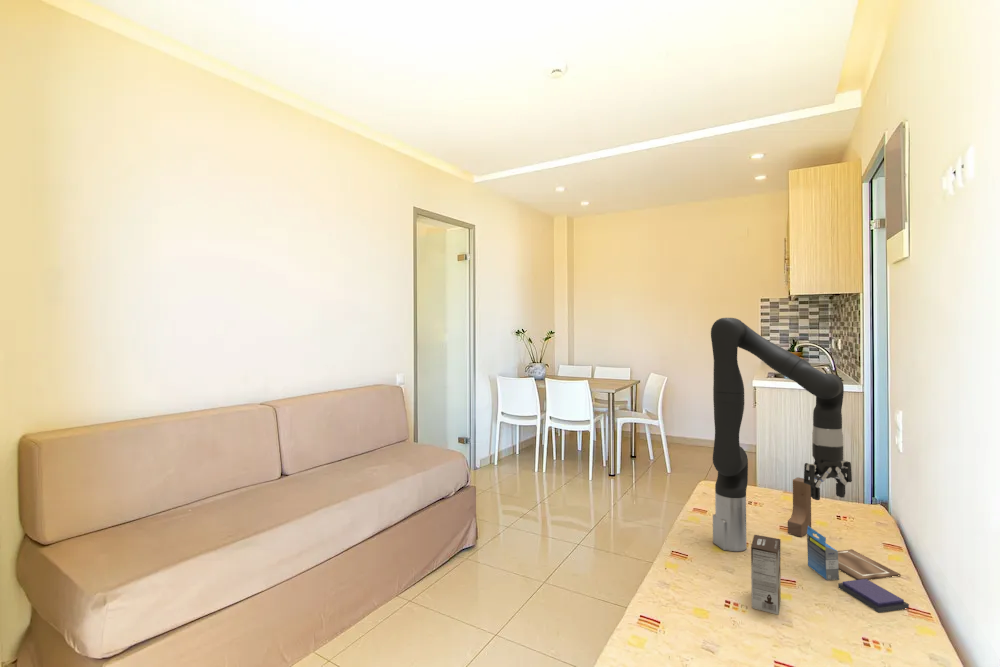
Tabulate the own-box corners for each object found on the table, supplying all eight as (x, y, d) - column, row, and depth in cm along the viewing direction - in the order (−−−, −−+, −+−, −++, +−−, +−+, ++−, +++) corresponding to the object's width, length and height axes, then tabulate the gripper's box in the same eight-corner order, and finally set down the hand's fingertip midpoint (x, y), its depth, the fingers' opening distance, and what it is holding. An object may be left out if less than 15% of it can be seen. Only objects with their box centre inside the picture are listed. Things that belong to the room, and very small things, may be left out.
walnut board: (858, 581, 138) (858, 578, 138) (813, 555, 154) (813, 552, 154) (900, 576, 141) (900, 573, 141) (851, 551, 156) (851, 549, 156)
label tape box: (839, 580, 139) (839, 537, 139) (825, 580, 139) (825, 537, 139) (819, 565, 148) (819, 524, 148) (806, 565, 148) (806, 525, 148)
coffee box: (754, 591, 134) (753, 533, 133) (781, 598, 130) (780, 538, 130) (751, 608, 126) (750, 546, 126) (779, 615, 122) (779, 552, 122)
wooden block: (801, 537, 167) (801, 485, 167) (787, 533, 170) (786, 481, 170) (811, 530, 172) (811, 479, 172) (797, 526, 176) (797, 476, 176)
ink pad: (878, 612, 123) (878, 604, 123) (838, 587, 135) (838, 580, 135) (908, 608, 125) (908, 601, 125) (866, 584, 136) (866, 577, 136)
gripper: (836, 438, 147) (837, 492, 147) (796, 441, 144) (796, 495, 145) (859, 444, 140) (860, 500, 140) (817, 447, 137) (818, 504, 137)
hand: (828, 498), depth 142 cm, fingers open, 8 cm apart
